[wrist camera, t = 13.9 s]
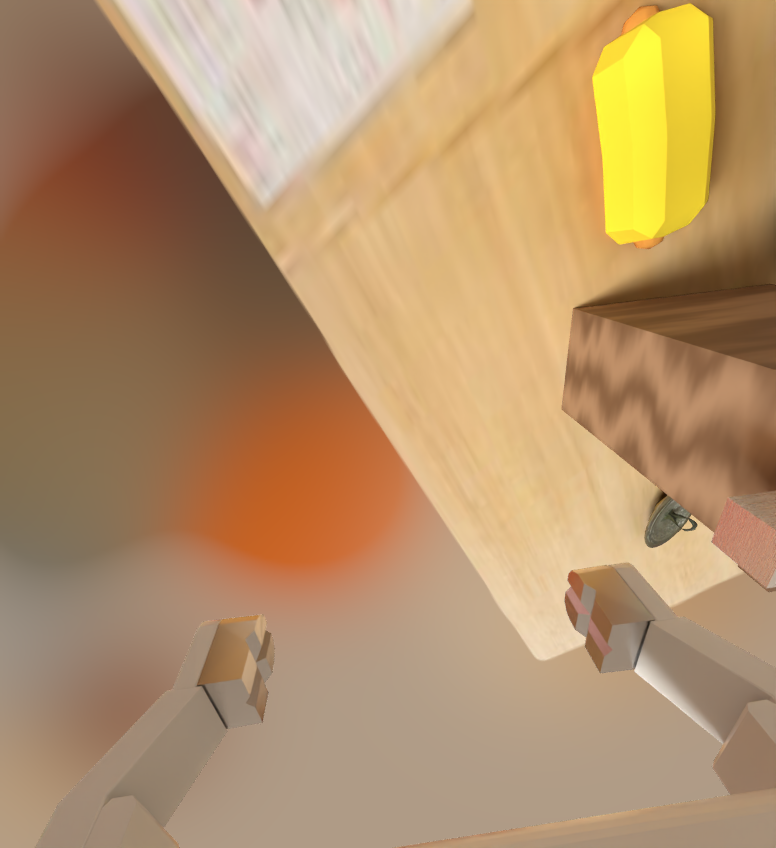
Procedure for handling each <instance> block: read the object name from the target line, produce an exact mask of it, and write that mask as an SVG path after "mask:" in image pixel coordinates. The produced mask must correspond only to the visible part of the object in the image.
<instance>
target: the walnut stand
mask: <svg viewBox="0 0 776 848" xmlns="http://www.w3.org/2000/svg"><path fill="white" fill-rule="evenodd" d="M562 410H563V411H564V412H566V413H567V414H568V415H569V416H570V417H572V418H573V419H574V420H575V421H577V422H578V423H579V424H580V425H582V426H583V427H584V428H585V429H587V430H588V431H589V432H590V433H592V434H593V435H594V436H595V437H596V438H598V439H599V440H600V441H601V442H603V443H604V444H605V445H606V446H608V447H609V448H610V449H611V450H613V451H614V452H615V453H616V454H618V455H619V456H620V457H621V458H622V459H624V460H625V461H626V462H627V463H629V464H630V465H631V466H632V467H634V468H635V469H636V470H637V471H639V472H640V473H641V474H642V475H644V476H645V477H646V478H647V479H648V480H650V481H651V482H652V483H653V484H655V485H656V486H657V487H658V488H660V489H661V490H662V491H663V492H665V493H666V494H667V495H668V496H670V497H671V498H672V499H673V500H674V501H676V502H677V503H678V504H679V505H681V506H682V507H683V508H684V509H686V510H687V511H688V512H689V513H691V514H692V515H693V516H694V517H696V518H697V519H698V520H699V521H700V522H702V523H703V524H704V525H705V526H707V527H708V528H709V529H710V530H712V531H713V532H714V533H715V530H716V528H717V525H718V522H719V520H720V517H721V514H722V512H723V509H724V506H725V504H726V501H727V498H728V497H734V496H741V495H748V494H756V493H763V492H770V491H776V285H773V284H768V285H760V286H751V287H743V288H735V289H727V290H719V291H711V292H703V293H695V294H687V295H679V296H671V297H663V298H655V299H646V300H638V301H630V302H622V303H614V304H606V305H598V306H590V307H582V308H574V309H573V315H572V323H571V332H570V341H569V350H568V358H567V367H566V376H565V385H564V393H563V402H562ZM738 567H739V568H740V569H742V570H743V571H744V572H745V573H746V574H747V575H749V576H750V577H751V578H752V579H753V580H755V581H756V582H757V583H758V584H759V585H760V586H762V587H763V588H764V589H765V590H766V591H768V592H772V591H776V587H773V588H765V587H764V586H763V585H762V584H760V583H759V582H758V581H757V580H756V579H755V578H753V577H752V576H751V575H750V574H749V573H747V572H746V571H745V570H744V569H743V568H741V567H740V566H739V565H738Z"/></svg>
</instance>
